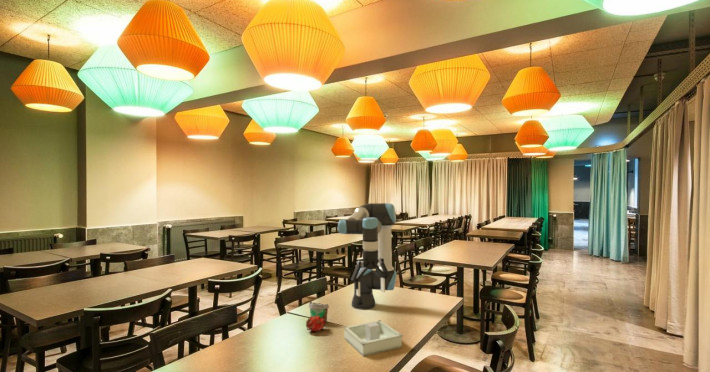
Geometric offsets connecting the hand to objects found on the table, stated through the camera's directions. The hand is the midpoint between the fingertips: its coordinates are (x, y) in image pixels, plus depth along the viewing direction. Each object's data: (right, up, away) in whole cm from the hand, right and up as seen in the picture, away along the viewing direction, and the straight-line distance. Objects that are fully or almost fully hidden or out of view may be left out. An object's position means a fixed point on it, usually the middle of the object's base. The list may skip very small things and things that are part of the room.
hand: (370, 293), depth 166 cm
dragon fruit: (-28, -23, +12) cm, 38 cm away
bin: (+1, -23, -3) cm, 23 cm away
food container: (-29, -23, +24) cm, 44 cm away
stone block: (+1, -22, -3) cm, 22 cm away
